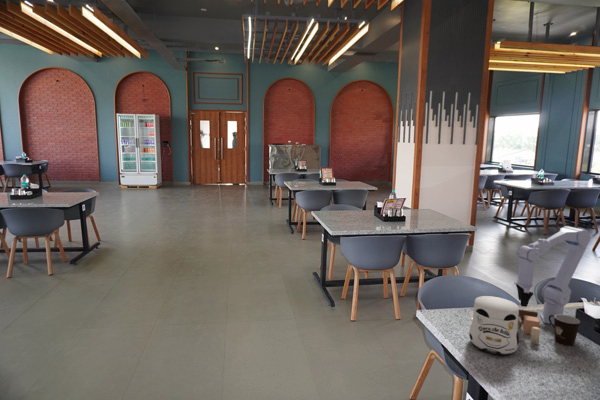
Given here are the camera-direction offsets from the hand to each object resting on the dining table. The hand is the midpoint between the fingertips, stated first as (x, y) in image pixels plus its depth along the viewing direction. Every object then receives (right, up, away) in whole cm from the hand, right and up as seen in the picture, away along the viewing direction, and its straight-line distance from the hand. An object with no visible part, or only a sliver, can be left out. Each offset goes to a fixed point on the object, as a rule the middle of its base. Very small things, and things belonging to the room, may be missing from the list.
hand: (522, 303), depth 171 cm
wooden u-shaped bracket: (+3, -10, +1) cm, 10 cm away
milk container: (-23, -12, -19) cm, 33 cm away
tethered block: (-2, -11, -10) cm, 15 cm away
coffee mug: (+9, -12, -13) cm, 20 cm away
